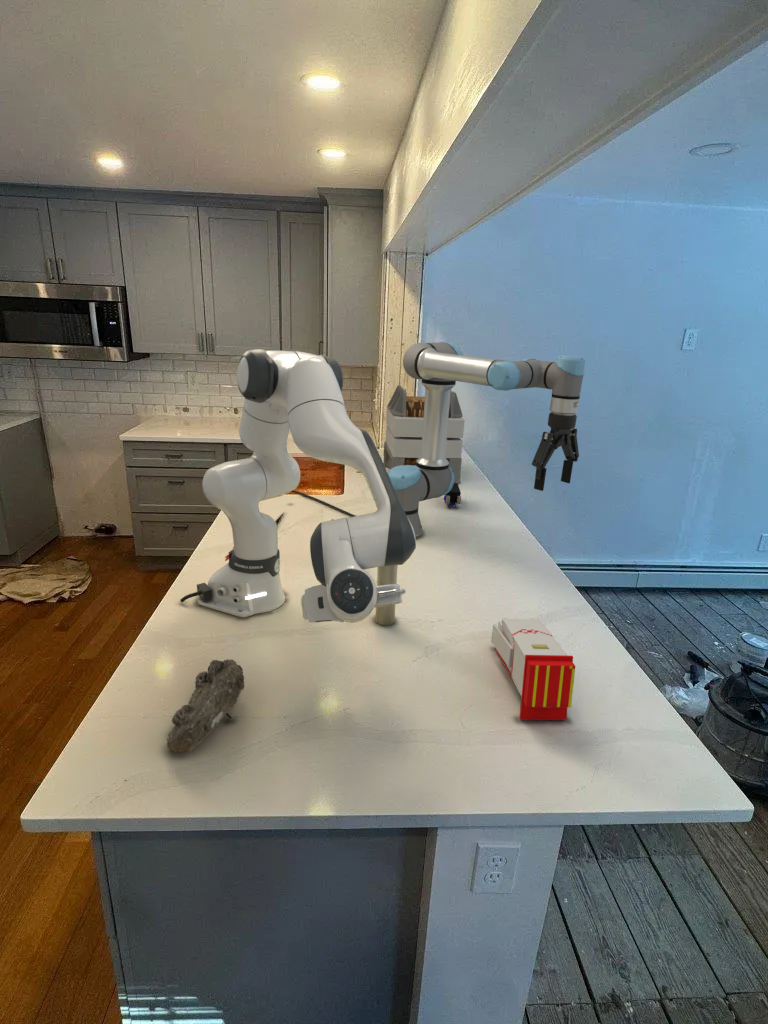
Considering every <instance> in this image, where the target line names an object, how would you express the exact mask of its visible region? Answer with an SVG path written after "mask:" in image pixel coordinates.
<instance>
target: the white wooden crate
mask: <svg viewBox="0 0 768 1024" xmlns="http://www.w3.org/2000/svg"><path fill="white" fill-rule="evenodd" d="M407 394H408V393H407V390H406V389H404V388H403V387H402V385H399V384H398V385H397V386H396V388H395V390H394V392H393V394H392V395H391V398H390V400H389V402H388V404H387V405H386V413H385V414H386V415H385V423H386V428H385V438H384V442H383V464H384V466H385V467H388V468H389V470H390V469H392V468H394V467H396V466H401V465H404V466H405V465H413V466H416V461H417V459H418V458H420V457H421V449H422V434H423V419H424V404H425V396H415V395H414V396H413V395H412V396H411V395H407ZM464 429H465V419H464V418H463V411H462V408H461V405H460V402H459V398H458V395H457V392H455V391H453V390H451V392H450V404H449V416H448V428H447V441H446V453H445V458H446V459H447V461H448V462H449V466H450V467H451V469H452V473H454V483H458V484H459V483H461V472H462V461H463V460H462V453H463V442H464V441H463V440H462V439H463V438H464V431H465V430H464Z"/></svg>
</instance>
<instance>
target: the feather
mask: <svg viewBox="0 0 768 1024" xmlns="http://www.w3.org/2000/svg"><path fill="white" fill-rule="evenodd" d="M290 505H291V503H290ZM284 514H285V512H283V513H282V514H281V515H279V516H278V518H277V519H276V520H274V521H275V522H276V524H277V525H279V522H280V521H281V519H282V517H283V515H284Z"/></svg>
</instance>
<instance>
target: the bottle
mask: <svg viewBox="0 0 768 1024" xmlns="http://www.w3.org/2000/svg"><path fill="white" fill-rule="evenodd" d="M398 566H399V565H393V566H380V567H377V571H376V572H377V573H376V576H377V577H376V586H382V585H388V584H398ZM395 618H396V604H395V605H388V606H382V607H375V619H374V620H375V623H377V624H378V625H380V626H390V625H393V624H394V623H395V621H396V619H395Z"/></svg>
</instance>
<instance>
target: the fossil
mask: <svg viewBox="0 0 768 1024" xmlns="http://www.w3.org/2000/svg"><path fill="white" fill-rule="evenodd" d="M243 670H244V669H243V667H242V665H240V664H237V662H236V661H235V660H234V659H232V658H231V659H227V658H226V659H224V660H223V661H222V660H217V659H212V660H211V661H210V663H209V665H208V666H207V671H201V672H199V673H198V674H197V675H196V676H195V680H194V684H195V685H194V687H195V689H194V690H193V693H192V694H191V697H190V698H189V700H188V704H184V705H182V706H181V707H180V709H177V710H176V711H175V713H174V715H173V716H172V718H171V723H172V724H173V727H172V730H171V731H170V732H168V734H167V738H166V741H167V742H166V745H167V749H168V750H169V751H173V752H174V753H176V754H178V753H182V752H188V751H189V752H192V751H193V750H195V748H196V747H197V746H199V744H200V743H201V742H203V741H204V740H205V739H206V738H207V737H208V736H209V735H210V734H211V733H212V732H214V730H215V729H217V727H218V726H219V724H220V722H221V721H222V720H223V719H224V718H225V716H226V717H227V719H229V720H233V717H232V715H230V714H229V710H230V709H231V708H234V706H235V704H236V703H237V702H238V699H239V697H240V695H241V693H242V691H243V690H245V689H244V688H245V675H244V671H243Z"/></svg>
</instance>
